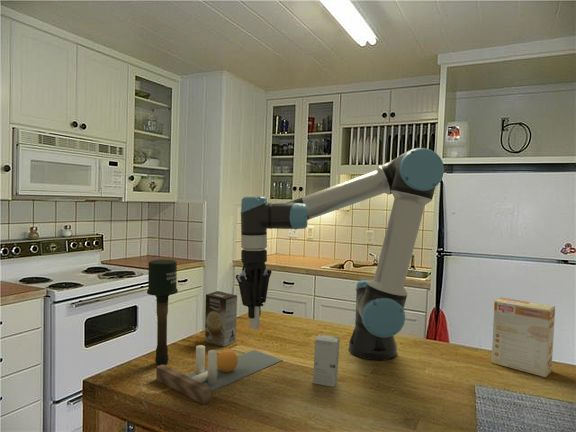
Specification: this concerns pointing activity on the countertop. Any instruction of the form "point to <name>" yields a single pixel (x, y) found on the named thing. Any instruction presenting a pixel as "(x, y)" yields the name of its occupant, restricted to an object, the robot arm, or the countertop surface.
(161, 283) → the potato masher grenade
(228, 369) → the ball
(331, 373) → the skincare box
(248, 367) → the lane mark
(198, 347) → the pin
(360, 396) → the countertop surface
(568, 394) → the countertop surface
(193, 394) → the back wall
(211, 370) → the pin
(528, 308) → the coffeecake box
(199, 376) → the front pin
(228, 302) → the coffee box
